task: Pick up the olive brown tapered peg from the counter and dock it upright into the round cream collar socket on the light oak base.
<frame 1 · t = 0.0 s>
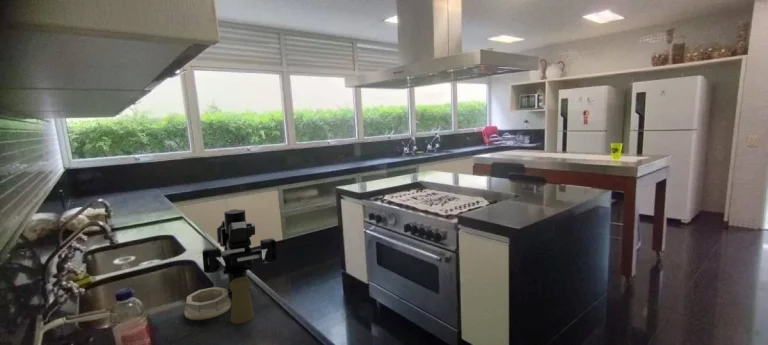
hand: (244, 264, 92), 17 cm above the countertop, tool horizontal, fingers open, 9 cm apart
dock socket: (208, 308, 103), on the countertop
olive brown tapered peg: (242, 318, 98), on the countertop
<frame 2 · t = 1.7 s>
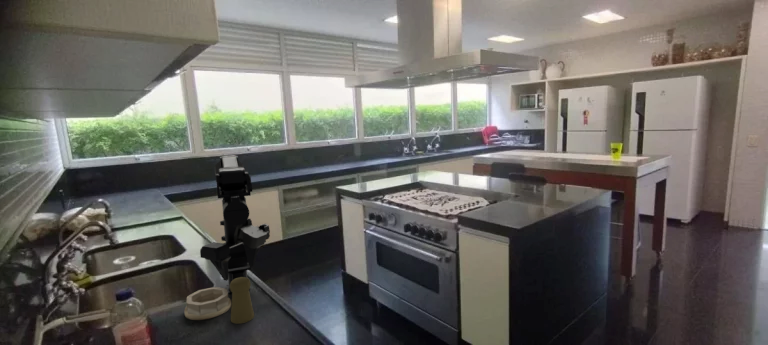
hand: (239, 273, 97), 13 cm above the countertop, tool pointing down, fingers open, 9 cm apart
nothing on the countertop moved.
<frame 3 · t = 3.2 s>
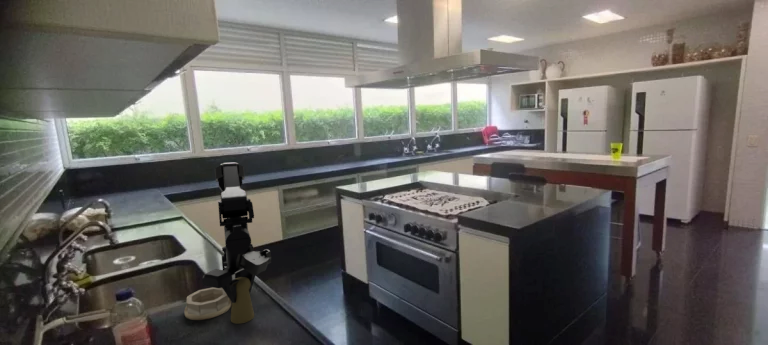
hand: (241, 298, 97), 6 cm above the countertop, tool pointing down, fingers closed on olive brown tapered peg, 5 cm apart
olive brown tapered peg: (242, 318, 98), on the countertop, touching gripper
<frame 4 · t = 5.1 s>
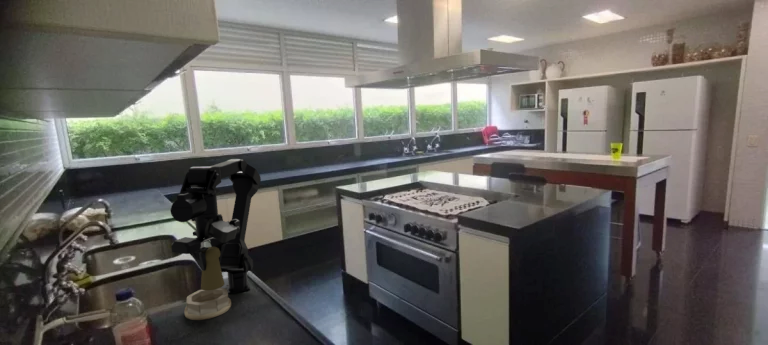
hand: (211, 266, 101), 13 cm above the countertop, tool pointing down, fingers closed on olive brown tapered peg, 5 cm apart
olive brown tapered peg: (212, 286, 102), point 7 cm above the countertop, touching gripper
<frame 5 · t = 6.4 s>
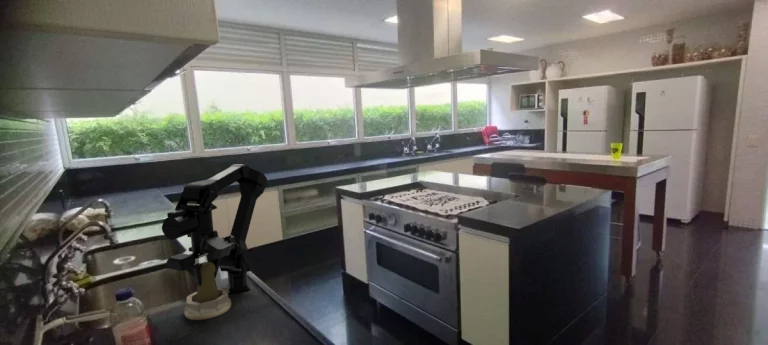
hand: (206, 281, 102), 8 cm above the countertop, tool pointing down, fingers closed on olive brown tapered peg, 5 cm apart
olive brown tapered peg: (208, 301, 103), point 2 cm above the countertop, touching gripper
when the fingers open (7 cm above the countertop, at t = 7.4 s): olive brown tapered peg stays where it is, resting on dock socket.
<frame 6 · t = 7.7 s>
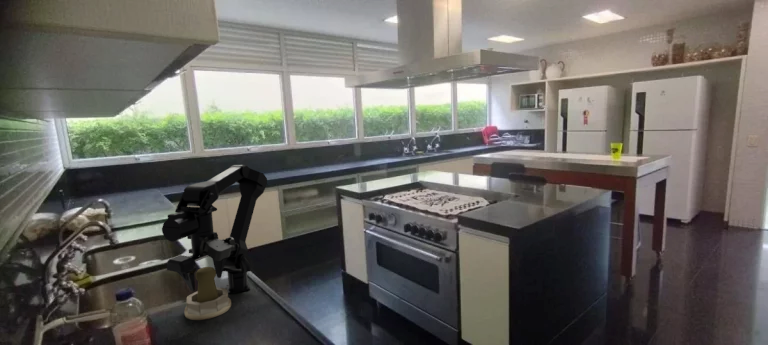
hand: (206, 283, 102), 7 cm above the countertop, tool pointing down, fingers open, 9 cm apart
olive brown tapered peg: (208, 306, 103), point 1 cm above the countertop, touching dock socket
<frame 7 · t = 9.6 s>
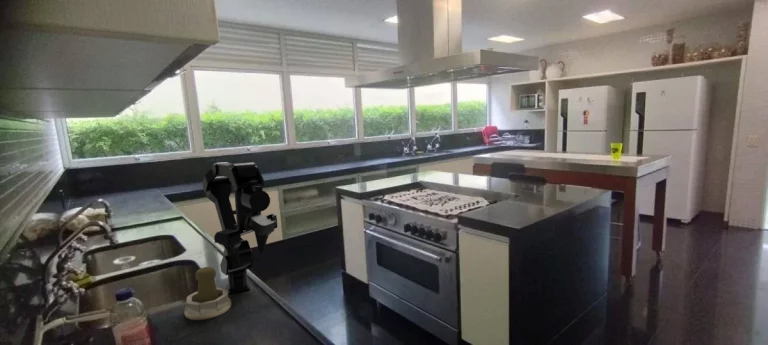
hand: (249, 258, 106), 13 cm above the countertop, tool pointing down, fingers open, 9 cm apart
nothing on the countertop moved.
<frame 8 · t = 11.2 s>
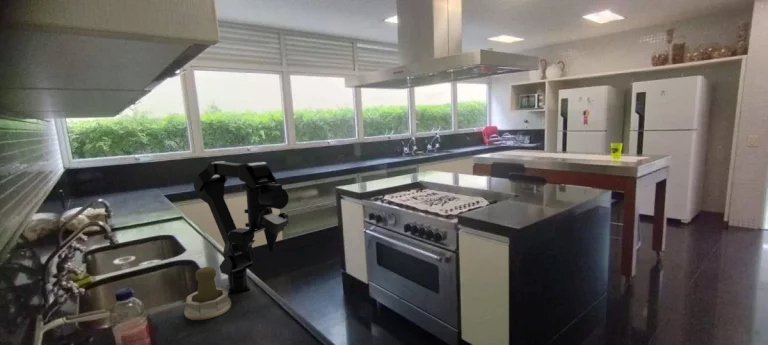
hand: (260, 256, 108), 13 cm above the countertop, tool pointing down, fingers open, 9 cm apart
nothing on the countertop moved.
at the end: olive brown tapered peg 0.1 cm off-centre on the dock socket, point 0.8 cm above the dock socket's base; olive brown tapered peg tilted 0°; the gripper is holding nothing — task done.
